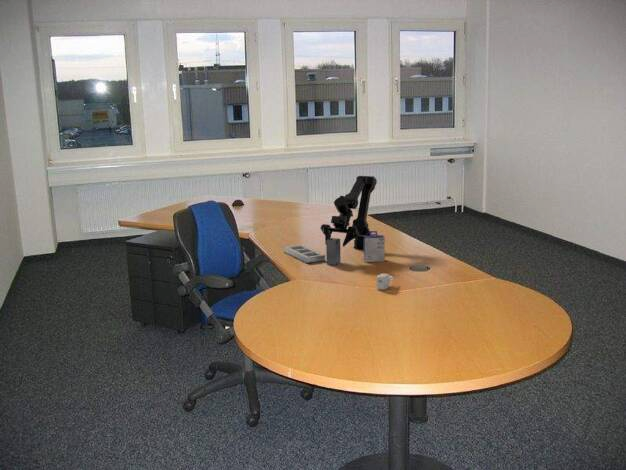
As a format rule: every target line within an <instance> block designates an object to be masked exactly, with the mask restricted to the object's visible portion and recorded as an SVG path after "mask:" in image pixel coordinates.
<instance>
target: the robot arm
mask: <svg viewBox="0 0 626 470" xmlns="http://www.w3.org/2000/svg"><path fill="white" fill-rule="evenodd" d="M377 181H378V180H377V178H376V177H375V176H373V175H358V176H356V180H355V182H354V183H353V185H352V187H351V190H350V191H349V192H348V193H346V194H345V195H340V196H339V197H337V198H336V199H335V200H333V204H334V206H335V209H336V210H337V212H338V213H339V215H332V216H331V219H330V223H331V224H332V225H333V227H331V225H330V224H327V223H326V224H325V223H323V224H321V225H320V230H321V232H322V233H323V235H324V237H325V238H324V242H325V243H324V244H325V245H326V240H328V239H330V238H332V233H341V234H346V235H345V238H344V240H343V242H342V247H343V248H344V247H346V246H347V244H349V243H350V242H352V240H354V241H353V249H356V250H359V251H364V236H370V231H371V230H370V228H369V223H368V221H367V217H368V212H369V211H368V210H369V205H370V199H371V194H372V193H373V191H374V190H375V189H376V185H377V183H378V182H377ZM359 197H360V200H359ZM357 207H358V212H357V218H356V219H353V220H352V226H350V221H351V218H353V217H354V213H353V210H356V209H357Z"/></svg>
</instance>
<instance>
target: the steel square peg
mask: <svg viewBox="0 0 626 470" xmlns="http://www.w3.org/2000/svg"><path fill="white" fill-rule="evenodd" d="M325 245H326V246H325V247H326V249H325V251H326V254H325V256H326V265H327V266H328V265H329V266H338V265H339V264H341V259H342V258H341V238H335V237H331V238H330V239H328V240H326V244H325Z"/></svg>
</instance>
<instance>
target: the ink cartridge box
mask: <svg viewBox="0 0 626 470" xmlns="http://www.w3.org/2000/svg"><path fill="white" fill-rule="evenodd" d="M385 238H386V237H385V236H384V235H383V234H378V230H370V236H364V249H363V260H364V261H363V262H364V263H376V262H378V263H379V262H385V261H386V260H385V259H386V257H385V256H386V255H385V253H386V251H385V250H386V249H385V242H386V239H385Z"/></svg>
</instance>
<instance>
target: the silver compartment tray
mask: <svg viewBox="0 0 626 470" xmlns="http://www.w3.org/2000/svg"><path fill="white" fill-rule="evenodd" d="M283 249H284V254H286V255H288V256H290V257H292V258H294V259H296V260H298V261H300V262H302V263H304V264H306V265H310V264H316V263H321V262H322V263H323V262H326V254H324V253H321V252H319V251H317V250H314V249H313V248H310V247H307V246H306V245H303V244H296V245H291V246H285V247H284V248H283Z"/></svg>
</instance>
